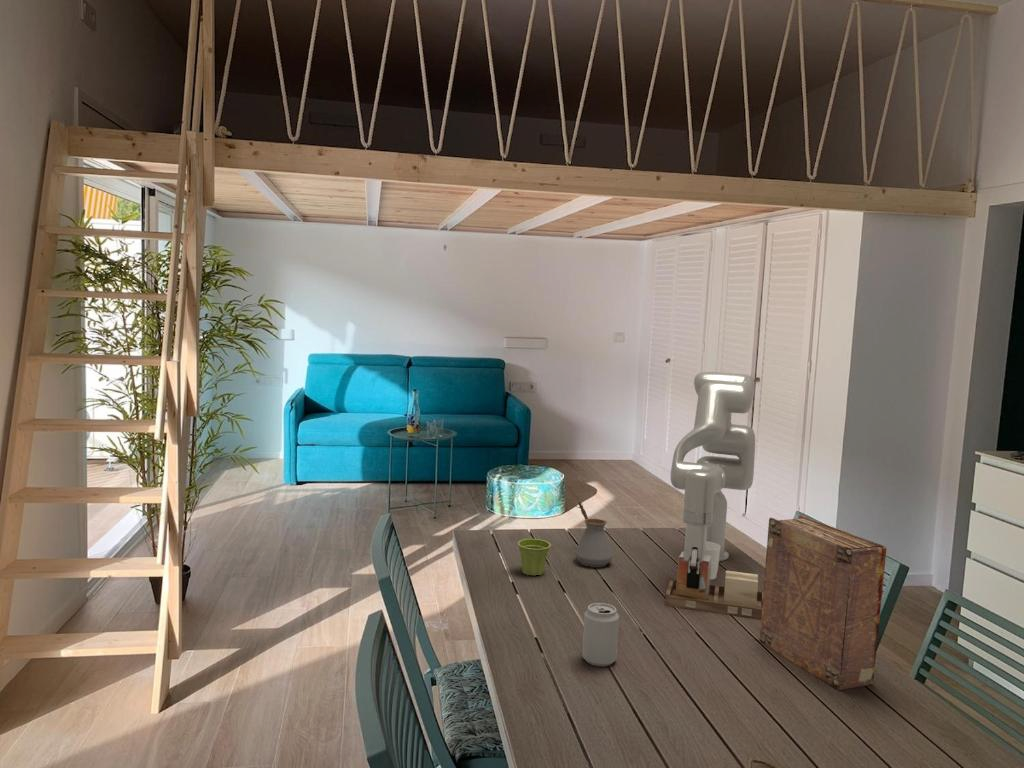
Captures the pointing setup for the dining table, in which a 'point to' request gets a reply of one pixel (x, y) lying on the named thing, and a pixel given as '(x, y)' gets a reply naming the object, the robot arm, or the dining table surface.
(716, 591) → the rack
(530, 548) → the plant pot
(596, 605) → the can
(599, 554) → the coffee pot
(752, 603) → the beech block
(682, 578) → the small box
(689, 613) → the dining table surface
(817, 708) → the dining table surface
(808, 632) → the book
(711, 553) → the white cup
